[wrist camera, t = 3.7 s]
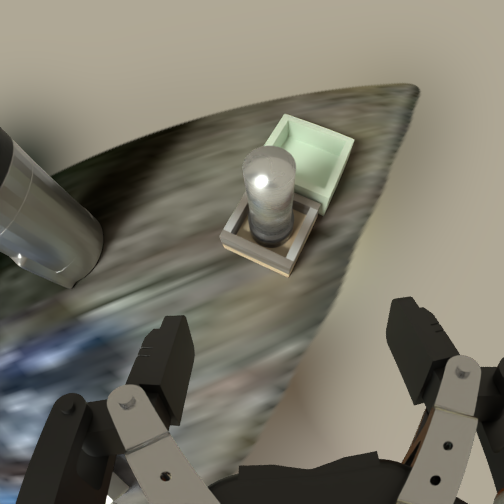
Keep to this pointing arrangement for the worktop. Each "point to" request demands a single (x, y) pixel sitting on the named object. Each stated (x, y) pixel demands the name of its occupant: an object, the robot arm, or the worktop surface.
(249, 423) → the worktop surface
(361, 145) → the worktop surface
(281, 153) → the shiny silver cylinder
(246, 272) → the worktop surface
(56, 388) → the worktop surface
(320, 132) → the bin
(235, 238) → the socket block
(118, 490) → the lighter
